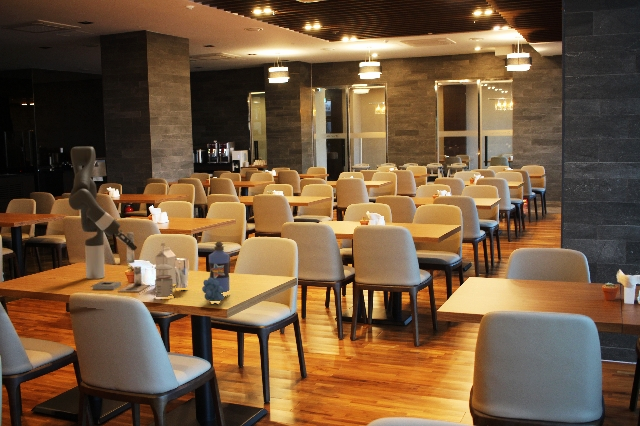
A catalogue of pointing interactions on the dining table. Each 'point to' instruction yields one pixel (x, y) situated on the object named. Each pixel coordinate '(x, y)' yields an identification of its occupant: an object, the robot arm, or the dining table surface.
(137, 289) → the rack
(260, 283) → the dining table surface
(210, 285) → the grapes
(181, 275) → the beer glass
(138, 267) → the short bit
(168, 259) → the milk carton
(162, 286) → the french press
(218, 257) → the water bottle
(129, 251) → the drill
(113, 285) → the socket block
